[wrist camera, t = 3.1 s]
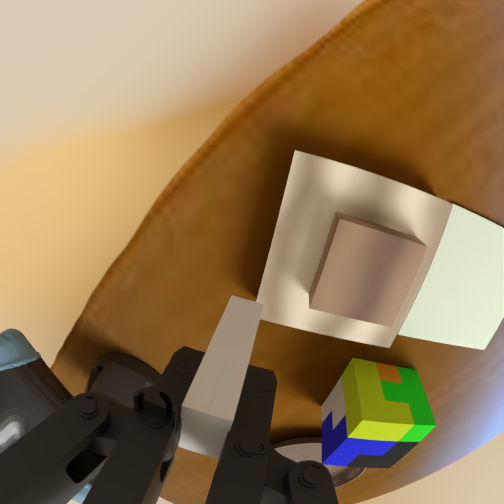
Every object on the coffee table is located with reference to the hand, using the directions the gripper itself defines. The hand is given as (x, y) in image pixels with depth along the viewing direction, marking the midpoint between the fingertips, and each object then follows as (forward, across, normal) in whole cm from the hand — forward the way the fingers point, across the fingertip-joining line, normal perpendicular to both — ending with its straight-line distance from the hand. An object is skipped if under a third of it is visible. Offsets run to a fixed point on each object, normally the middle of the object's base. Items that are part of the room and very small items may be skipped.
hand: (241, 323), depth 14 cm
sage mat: (+16, +25, 0) cm, 30 cm away
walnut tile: (+13, +9, 0) cm, 15 cm away
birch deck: (+16, +8, 0) cm, 18 cm away
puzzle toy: (+17, +18, -18) cm, 31 cm away
